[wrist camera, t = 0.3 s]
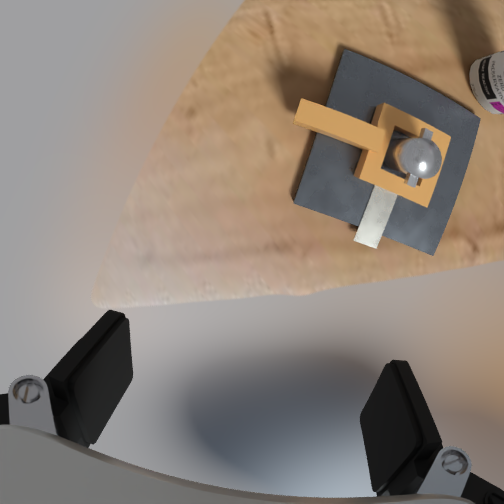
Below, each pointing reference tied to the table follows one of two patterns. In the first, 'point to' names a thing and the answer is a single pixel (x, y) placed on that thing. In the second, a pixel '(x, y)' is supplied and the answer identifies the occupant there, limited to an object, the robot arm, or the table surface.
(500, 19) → the table surface
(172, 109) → the table surface
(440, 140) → the tan wooden bracket
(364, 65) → the base plate
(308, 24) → the table surface
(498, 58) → the supplement can
